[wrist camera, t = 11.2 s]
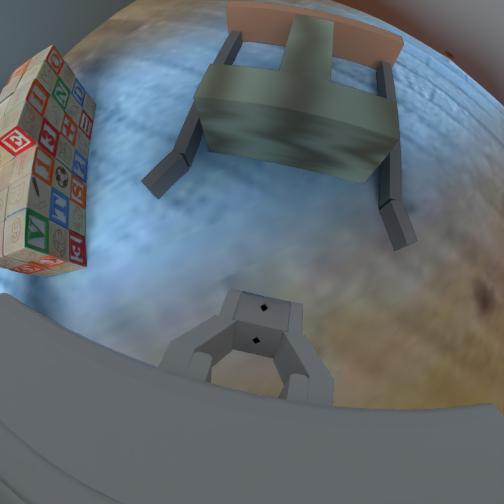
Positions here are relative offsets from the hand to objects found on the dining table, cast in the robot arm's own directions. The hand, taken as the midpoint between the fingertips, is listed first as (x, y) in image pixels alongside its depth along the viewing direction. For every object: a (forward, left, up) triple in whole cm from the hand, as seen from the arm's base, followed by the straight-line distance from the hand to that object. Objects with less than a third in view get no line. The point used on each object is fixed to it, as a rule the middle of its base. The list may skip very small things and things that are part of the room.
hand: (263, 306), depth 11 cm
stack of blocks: (+24, -8, -12) cm, 28 cm away
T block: (0, -20, -11) cm, 23 cm away
